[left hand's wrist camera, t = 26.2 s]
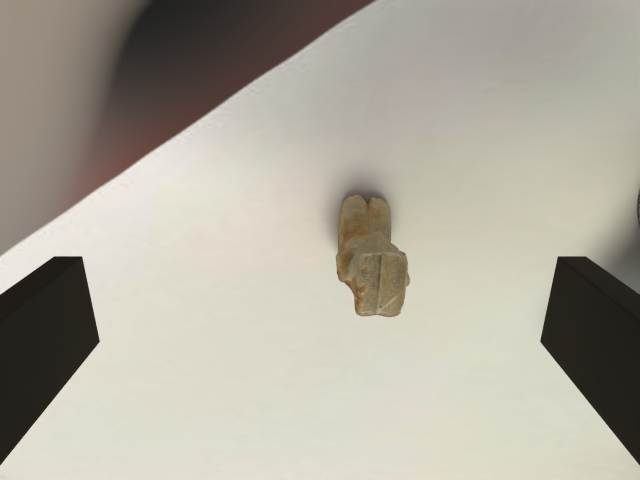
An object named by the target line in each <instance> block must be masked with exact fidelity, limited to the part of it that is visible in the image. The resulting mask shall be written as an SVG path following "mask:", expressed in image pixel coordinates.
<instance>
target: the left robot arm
mask: <svg viewBox="0 0 640 480" xmlns="http://www.w3.org/2000/svg"><path fill="white" fill-rule="evenodd" d="M638 214H639V222H640V197H639V205H638ZM99 342H100V341H99V336H98V331H97V326H96V321H95V317H94V312H93V307H92V302H91V297H90V292H89V288H88V283H87V278H86V273H85V268H84V264H83V259H82V257H53V258H51V259H50V260H49V261H47V262H46V263H44V264H43V265H42V266H40V267H39V268H37V269H36V270H35V271H33V272H32V273H30V274H29V275H28V276H26V277H25V278H23V279H22V280H20V281H19V282H18V283H16V284H15V285H13V286H12V287H11V288H9V289H8V290H6V291H5V292H4V293H2V294H1V295H0V465H1V464H2V462H3V461H4V460H5V459H6V457H7V456H8V455H9V454H10V452H11V451H12V450H13V449H14V448H15V446H16V445H17V444H18V443H19V441H20V440H21V439H22V438H23V436H24V435H25V434H26V433H27V431H28V430H29V429H30V428H31V426H32V425H33V424H34V423H35V421H36V420H37V419H38V418H39V416H40V415H41V414H42V413H43V412H44V410H45V409H46V408H47V407H48V405H49V404H50V403H51V402H52V400H53V399H54V398H55V397H56V395H57V394H58V393H59V392H60V390H61V389H62V388H63V387H64V385H65V384H66V383H67V382H68V380H69V379H70V378H71V377H72V375H73V374H74V373H75V372H76V371H77V369H78V368H79V367H80V366H81V364H82V363H83V362H84V361H85V359H86V358H87V357H88V356H89V354H90V353H91V352H92V351H93V349H94V348H95V347H96V346H97V344H98V343H99ZM540 342H541V343H542V344H543V346H544V347H545V348H546V349H547V351H548V352H549V353H550V354H551V356H552V357H553V358H554V359H555V361H556V362H557V363H558V364H559V366H560V367H561V368H562V369H563V371H564V372H565V373H566V374H567V375H568V377H569V378H570V379H571V380H572V382H573V383H574V384H575V385H576V387H577V388H578V389H579V390H580V392H581V393H582V394H583V395H584V397H585V398H586V399H587V400H588V402H589V403H590V404H591V405H592V407H593V408H594V409H595V410H596V412H597V413H598V414H599V415H600V416H601V418H602V419H603V420H604V421H605V423H606V424H607V425H608V426H609V428H610V429H611V430H612V431H613V433H614V434H615V435H616V436H617V438H618V439H619V440H620V441H621V443H622V444H623V445H624V446H625V448H626V449H627V450H628V451H629V452H630V454H631V455H632V456H633V457H634V459H635V460H636V461H637V462H638V464H639V465H640V295H639V294H638V293H636V292H635V291H634V290H632V289H631V288H629V287H628V286H627V285H625V284H624V283H622V282H621V281H620V280H618V279H617V278H615V277H614V276H612V275H611V274H610V273H608V272H607V271H605V270H604V269H603V268H601V267H600V266H598V265H597V264H596V263H594V262H593V261H591V260H590V259H589V258H587V257H558V259H557V264H556V268H555V273H554V278H553V283H552V288H551V292H550V297H549V302H548V307H547V312H546V317H545V321H544V326H543V331H542V336H541V341H540Z"/></svg>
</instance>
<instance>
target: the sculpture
mask: <svg viewBox="0 0 640 480" xmlns="http://www.w3.org/2000/svg"><path fill="white" fill-rule="evenodd" d="M390 241H391V215H390V207H389V204H388V203H387V202H386V201H385V200H382V199H379V198H375V197H371V198H370V200H369V201H368V203H366V202H365V201H364V199H363V198H362V197H361V196H359V195H354V196H349V197H347V198H346V199H345V200H344V202H343V205H342V208H341V213H340V222H339V237H338V254H337V255H336V264H337V274H338V278H339V281H341V282H344V283H345V284H346V285H348V286H349V287H350V289H351V290H352V292H353V294H354V297H355V311H356V313H357V315H360V316H372V315H381V316H385V317H394V316H397V315H399V314H400V311H401V308H402V306H403V303H404V298H405V289H406V286H408V285H409V283H410V278H409V275H408V272H407V270H408V267H407V266H408V262H407V257H406V254H405V253H404V252H401V251H399V249H398V248H397V247H396V246H395V245H393V244H392V243H390Z"/></svg>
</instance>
